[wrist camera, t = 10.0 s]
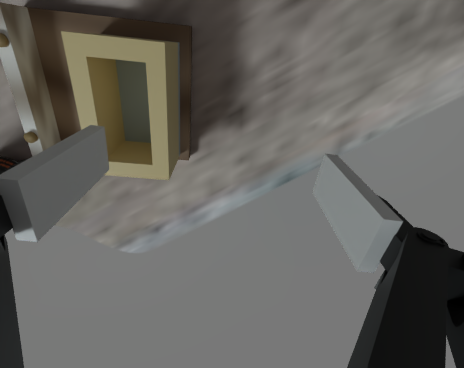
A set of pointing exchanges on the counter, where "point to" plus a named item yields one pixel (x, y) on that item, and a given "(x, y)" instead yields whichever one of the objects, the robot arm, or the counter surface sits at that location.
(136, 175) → the frame
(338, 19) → the counter surface
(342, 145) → the counter surface
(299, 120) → the counter surface
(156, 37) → the wall board
